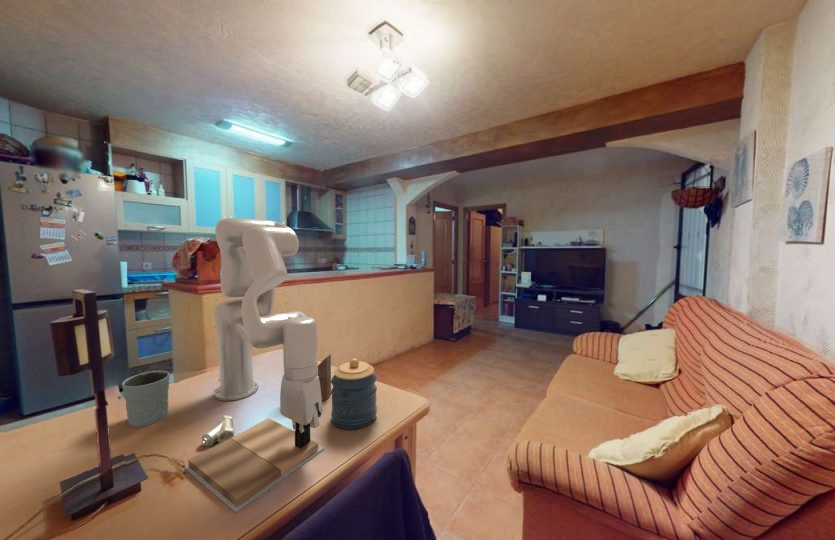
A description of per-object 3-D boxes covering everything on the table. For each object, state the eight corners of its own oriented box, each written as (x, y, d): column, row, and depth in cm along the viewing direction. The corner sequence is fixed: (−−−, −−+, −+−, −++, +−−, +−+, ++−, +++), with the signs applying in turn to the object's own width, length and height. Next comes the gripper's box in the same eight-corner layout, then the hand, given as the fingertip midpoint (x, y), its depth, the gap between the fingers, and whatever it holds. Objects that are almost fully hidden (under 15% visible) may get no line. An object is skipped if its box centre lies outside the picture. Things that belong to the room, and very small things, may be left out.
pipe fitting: (202, 453, 74) (234, 441, 78) (200, 438, 73) (232, 427, 77) (203, 436, 81) (233, 426, 84) (201, 422, 80) (231, 412, 84)
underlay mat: (184, 468, 68) (184, 467, 68) (272, 422, 86) (272, 421, 86) (236, 512, 57) (236, 510, 57) (323, 449, 75) (323, 447, 75)
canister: (357, 436, 80) (356, 371, 79) (321, 422, 87) (320, 361, 85) (385, 413, 92) (385, 355, 90) (352, 401, 98) (352, 348, 97)
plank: (231, 443, 76) (230, 438, 76) (268, 423, 84) (268, 418, 84) (281, 476, 66) (280, 469, 65) (318, 449, 74) (318, 443, 74)
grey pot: (162, 405, 94) (159, 368, 93) (178, 414, 89) (176, 375, 88) (118, 422, 85) (115, 380, 84) (134, 433, 81) (131, 389, 80)
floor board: (188, 466, 68) (188, 459, 68) (230, 444, 76) (230, 438, 76) (237, 507, 58) (237, 499, 58) (280, 476, 65) (280, 469, 65)
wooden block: (327, 400, 99) (326, 345, 97) (295, 398, 100) (294, 344, 99) (331, 394, 102) (331, 342, 101) (301, 392, 104) (300, 340, 102)
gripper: (267, 368, 73) (269, 442, 74) (309, 383, 65) (310, 465, 66) (294, 359, 79) (296, 426, 81) (335, 371, 71) (336, 446, 73)
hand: (302, 444), depth 74 cm, fingers closed
